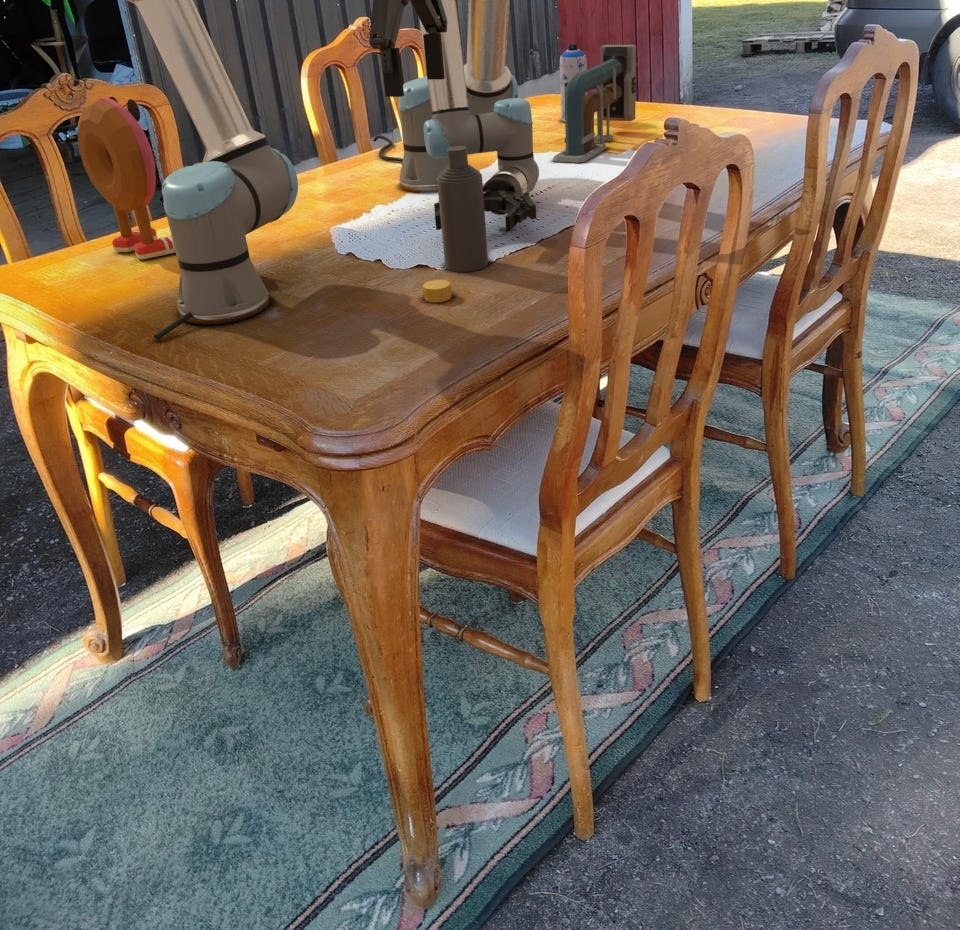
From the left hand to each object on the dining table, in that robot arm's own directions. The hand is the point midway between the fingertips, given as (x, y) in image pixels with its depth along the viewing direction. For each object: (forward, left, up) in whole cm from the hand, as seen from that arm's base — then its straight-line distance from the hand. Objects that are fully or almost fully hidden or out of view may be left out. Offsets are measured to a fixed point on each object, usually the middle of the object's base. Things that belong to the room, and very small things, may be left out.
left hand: (416, 87), depth 146 cm
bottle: (+16, 0, -34) cm, 37 cm away
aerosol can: (+139, +6, -34) cm, 143 cm away
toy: (+19, +70, -34) cm, 80 cm away
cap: (0, 0, -31) cm, 32 cm away
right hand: (+21, 0, -27) cm, 35 cm away
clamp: (+107, -6, -34) cm, 113 cm away
